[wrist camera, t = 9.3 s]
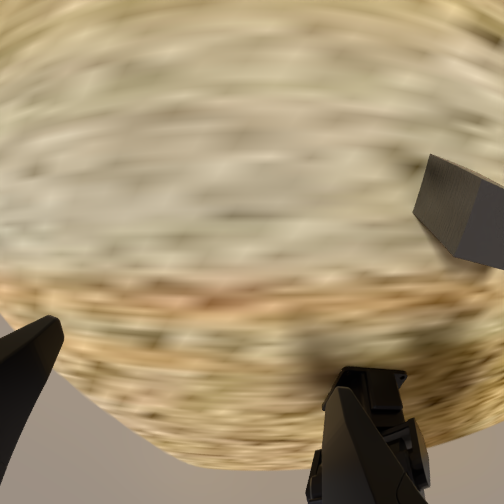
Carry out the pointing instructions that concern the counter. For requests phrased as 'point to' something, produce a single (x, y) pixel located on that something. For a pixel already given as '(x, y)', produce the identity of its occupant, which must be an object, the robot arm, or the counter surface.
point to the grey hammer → (463, 211)
